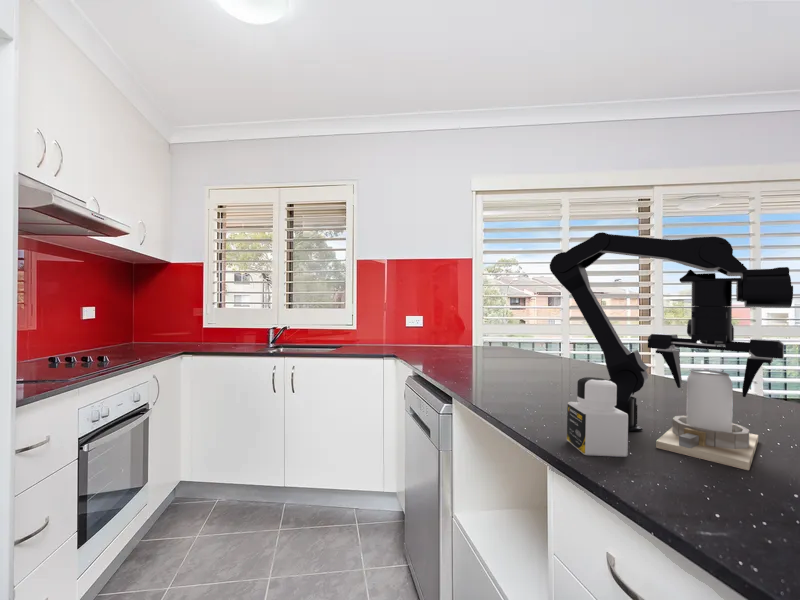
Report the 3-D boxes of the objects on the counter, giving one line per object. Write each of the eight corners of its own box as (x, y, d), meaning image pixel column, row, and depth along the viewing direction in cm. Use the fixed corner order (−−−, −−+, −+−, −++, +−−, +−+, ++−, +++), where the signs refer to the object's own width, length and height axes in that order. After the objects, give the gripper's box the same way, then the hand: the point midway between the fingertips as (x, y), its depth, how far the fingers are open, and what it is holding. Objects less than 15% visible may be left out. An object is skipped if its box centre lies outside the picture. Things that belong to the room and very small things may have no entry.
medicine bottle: (566, 440, 69) (567, 374, 69) (605, 442, 68) (607, 375, 69) (584, 455, 61) (585, 382, 62) (628, 457, 61) (629, 383, 61)
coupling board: (749, 470, 57) (749, 446, 58) (656, 447, 66) (656, 426, 66) (758, 441, 71) (758, 421, 71) (680, 425, 80) (680, 408, 80)
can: (715, 432, 72) (715, 369, 72) (742, 445, 65) (742, 375, 66) (678, 430, 72) (679, 368, 73) (701, 442, 66) (702, 373, 66)
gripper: (784, 308, 68) (784, 395, 68) (661, 307, 82) (660, 379, 81) (783, 307, 60) (782, 405, 60) (647, 305, 74) (646, 385, 73)
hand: (710, 392), depth 69 cm, fingers open, 9 cm apart
